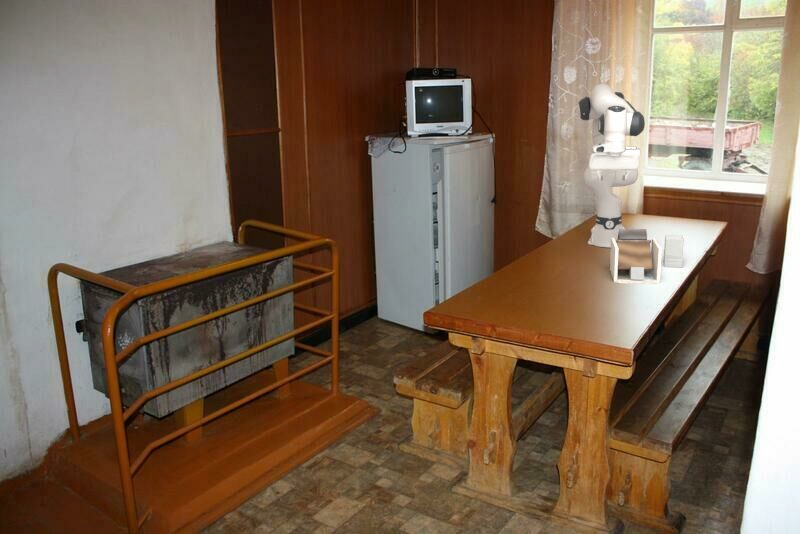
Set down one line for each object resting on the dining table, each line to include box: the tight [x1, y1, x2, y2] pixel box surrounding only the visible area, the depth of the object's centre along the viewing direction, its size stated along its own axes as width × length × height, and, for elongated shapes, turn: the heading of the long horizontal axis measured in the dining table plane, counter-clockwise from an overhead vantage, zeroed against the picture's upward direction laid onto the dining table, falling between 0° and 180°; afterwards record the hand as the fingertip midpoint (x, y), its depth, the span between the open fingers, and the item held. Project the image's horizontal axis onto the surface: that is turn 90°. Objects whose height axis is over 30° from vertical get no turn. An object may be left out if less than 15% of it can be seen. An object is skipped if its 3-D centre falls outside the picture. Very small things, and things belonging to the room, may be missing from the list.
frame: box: [609, 237, 663, 285], centre depth 286 cm, size 20×18×14 cm
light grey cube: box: [628, 267, 645, 280], centre depth 281 cm, size 5×5×5 cm
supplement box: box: [663, 234, 685, 268], centre depth 299 cm, size 7×7×13 cm
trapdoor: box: [616, 228, 652, 271], centre depth 292 cm, size 20×14×7 cm
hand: (612, 180), depth 291 cm, fingers open, 8 cm apart
